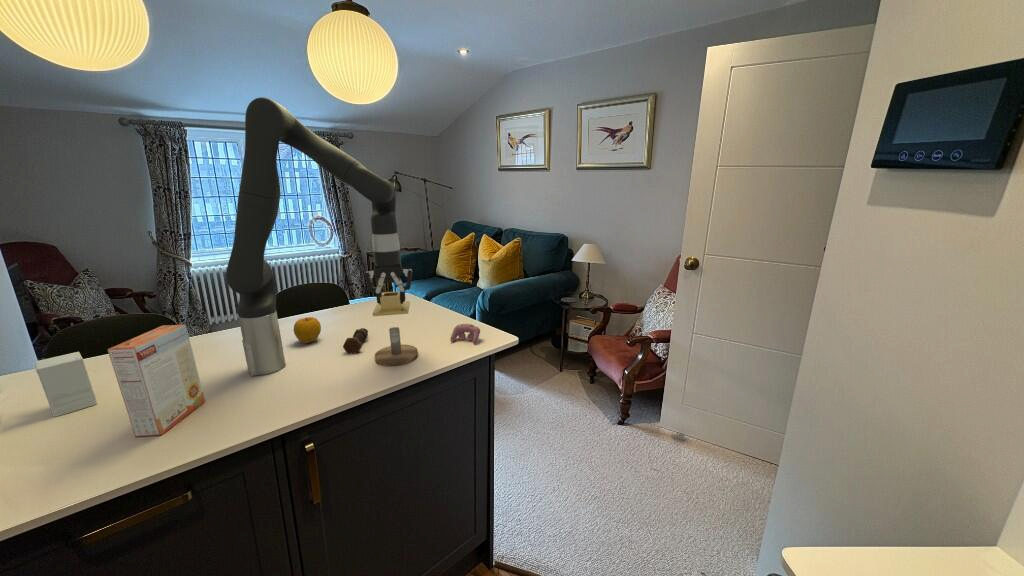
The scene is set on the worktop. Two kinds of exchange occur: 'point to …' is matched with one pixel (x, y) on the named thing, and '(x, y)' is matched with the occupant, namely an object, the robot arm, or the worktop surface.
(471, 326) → the purple arched piece
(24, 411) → the worktop surface
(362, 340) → the dark brown dumbbell
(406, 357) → the post base
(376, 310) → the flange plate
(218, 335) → the worktop surface
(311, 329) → the apple
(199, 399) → the cracker box
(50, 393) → the supplement box
